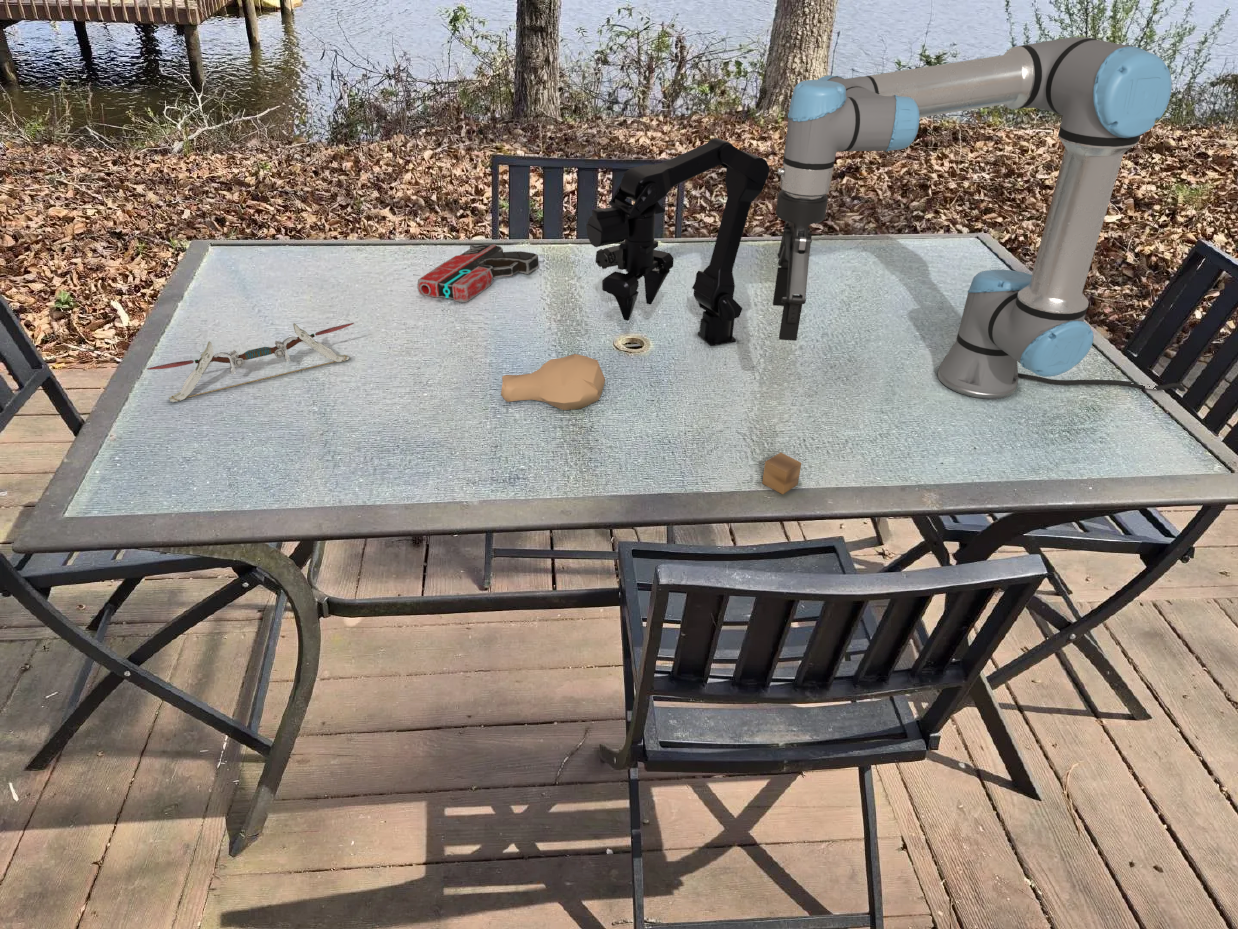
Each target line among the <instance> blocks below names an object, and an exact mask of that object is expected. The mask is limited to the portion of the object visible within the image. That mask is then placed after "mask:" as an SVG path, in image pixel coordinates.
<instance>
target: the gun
mask: <svg viewBox="0 0 1238 929" xmlns="http://www.w3.org/2000/svg"><path fill="white" fill-rule="evenodd" d="M539 266H540V265H539V254H537V253H534V252H529V251H521V250H519V251H518V250H517V251H504V249H503V247H502V246H501V245H498V244H496V243H492V244H487V243H484V244H480V245H474V244H470V245H469V249H467V250H466V251H464V252H462V253H461V254H459V255H454V256H452V257H451V258H449V259H448V260H446V261H444V262H442V263H441V264H440V265H438V266H437V267H435V268H433V269H431V270H430V271H428V272H427V273H426V274H424V275H422V276H421V277H420V278H418V279H417V285H416V286H417V287H416V288H417V291H418V294H419V295H421V296H426V297H430V298H445V299H452V300H453V301H454V302H457V303H458V302H459V303H466V302H469V301H470V300H472V299H473V298H474V297H476V296H477V295H479V294H480V293H482V292H483V291H485V290H486V289H488V288H489V287H491V286H492V283H493V280H494V278H501V277H502V278H503V277H509V276H514V275H515V274H516V273H522V274H527V275H529V274H530V273H532V272H533V271H535V270H537V269H539Z"/></svg>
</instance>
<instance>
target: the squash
mask: <svg viewBox="0 0 1238 929" xmlns="http://www.w3.org/2000/svg"><path fill="white" fill-rule="evenodd" d="M501 377H502V378H501V380H502V382H501V383H502V385H501V391H500V396H501V397H502V398H503V399H504V401H505V402H506V403H509V402H518V401H533V400H534V401H538V402H544V403H546V404H548V405H550V406H552V407H555V408H557V409H560V410H561V411H572V410H573V411H574V410H581V409H583V408H586V407H587V406H590V405H592V404H594V403H596V402H598V401H599V400H600V398H601V396H602V393H603V390H604V386H605V383H606V378H605V375H604V373H603V371H602V368H601V366H600V363H599V360H598V359H595V358H592V357H589V356H586V355H583V354H577V353H572V354H570V355H567V356H563V357H558V358H552V359H548V361H546V362H545V363H543V364H542V365H541V366H540V368H538V369H537V370H535V371H533V372H531V373H524V374H505V375H502V376H501Z"/></svg>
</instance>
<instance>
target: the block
mask: <svg viewBox="0 0 1238 929" xmlns="http://www.w3.org/2000/svg"><path fill="white" fill-rule="evenodd" d="M801 468H802V462H800V461H799V460H797V459H795V458H793V457H791V456H789V455H787V454H785V453H783V452H781V451H780V452H778V453H777V454H775V455H774V456H772V457H770V458H768V459H767V460H765V461H764V467H763V475H762V482H761V484H762V485H764V486H765V487H767V488H770V489H772V490H773V491H774V492H777V493H779V494H781V495H785V494H786V493H788V492H789V491H791V490H792V489H795V488H796V487H797V486H798V485H799V480H800V474H801Z"/></svg>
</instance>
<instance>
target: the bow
mask: <svg viewBox="0 0 1238 929" xmlns="http://www.w3.org/2000/svg"><path fill="white" fill-rule="evenodd" d="M354 324H355V322H351V323H346V324H342V325H337V326H333V327H329V328H326V329H323V330H319V331H316V332H315V333H311V334H309V333H308V332H307V331H305V330H304V329H302V328H300V327H299V326H298V324H297V323H295V322H293V323H292V326H293V330H294V333H295V335H297V337H296V336H288V337H286V338H285V339H284V340H282V341H280V340H279V341H277V340H275V341H274V345H275V346H272V347H270V346H262V347H258V348H253V349H249V350H246V351H245V352H243V353H242V354H239V353H237V351H236V350H235V349H233V350H232V351H230V352H224V351H221V352H217V353H214V346H213V343H212V342H211V341H207V344H206V347H205V349H204V351H203V352H202V353H201V354H200V358H199V359H194V360H193V359H192V360H191V359H189V360H183V361H175V362H170V363H169V362H168V363H165V364H161V365H160V364H159V365H156V366H152V367H151V366H150V367H147V368H146V370H147V371H150V370H151V371H152V370H163V369H172V368H177V367H182V366H187V365H192V364H196V367H195V369H193V370H192V371H191V373H190V374H189V376H188V377H187V378H186V379H185V381H184V383H183V385H182V387H181V390H180V391H178V392H177V393H175V394H172V395H171V396H169V397H168V399H169V402H172V403H175V402H180V401H184V400H185V399H187V398H191V397H195V396H199V395H200V396H201V395H204V394H207V393H212V392H217V391H220V390H224V389H230V388H233V387H237V386H241V385H246V384H250V383H253V382H258V381H261V380H262V381H263V380H266V379H271V378H274V377H279V376H283V375H286V374H292V373H295V372H301V371H303V370H308V369H312V368H316V367H320V366H325V365H329V364H332V363H342V362H346V361H349V359H350V356H349V354H336V353H335V352H334V351H333V350H332V349H331V348H329V347H328V346H327V345H325V344H323V343H321V342H319V341H316V340H315V339H313V338H315V337H317V336H322V335H325V334H326V335H327V334H331V333H334V332H336V331H339V330H343V329H345V328H347V327H350V326H353V325H354ZM299 343H300V344H304V345H306V346H308V347H309V348H311V349H313V350H315V352H317V353H319V354H320V355H322V356H323V357H325V358H327V359H329V360H331V361H329V362H326V363H321V364H317V365H313V366H308V367H305V368H300V369H296V370H292V371H287V372H283V373H279V374H275V375H272V376H271V375H270V376H267V377H262V378H259V379H254V380H251V381H245V382H242V383H238V384H234V385H230V386H225V387H221V388H217V389H213V390H208V391H205V392H199V393H195V394H192V395H191V393H192V392H193V391H194V390H195V387H196V386H197V384H198V382H199V381H200V379H201V378H202V376H203V375H204V373H205V372H206V371H207V369H209V367H210V366H211V364H212V363H213V362H215V363H222V364H229V373H230V374H231V375H236V374H237V372H236V371H237V370H236V368H241V367H243V366H244V364H245V361H247V360H252V359H257V358H261V357H265V356H270V355H274V356H275V357H276V358H277V359H278V358H279V359H280V358H282V357H283V358H284V360H285V362H291V361H292V360H291V358H290V355H289V354H288V350H290V349H292V348H294V347H295V346H296V345H298V344H299Z"/></svg>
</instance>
